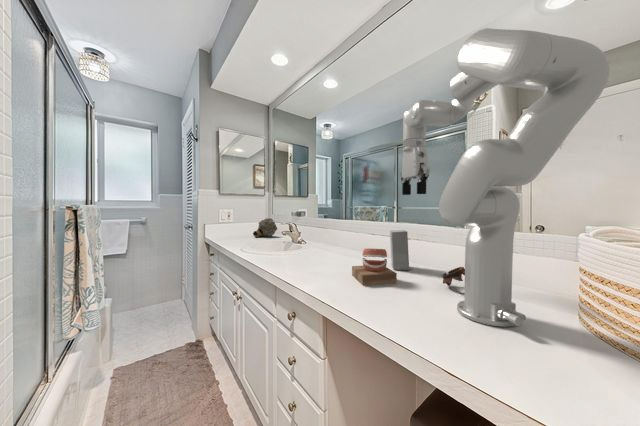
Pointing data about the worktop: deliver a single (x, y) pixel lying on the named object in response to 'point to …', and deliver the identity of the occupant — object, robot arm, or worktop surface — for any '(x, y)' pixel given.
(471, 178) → the robot arm
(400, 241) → the skincare box
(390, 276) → the walnut base
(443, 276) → the dark brown jagged part
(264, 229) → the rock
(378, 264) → the dentures
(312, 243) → the worktop surface
